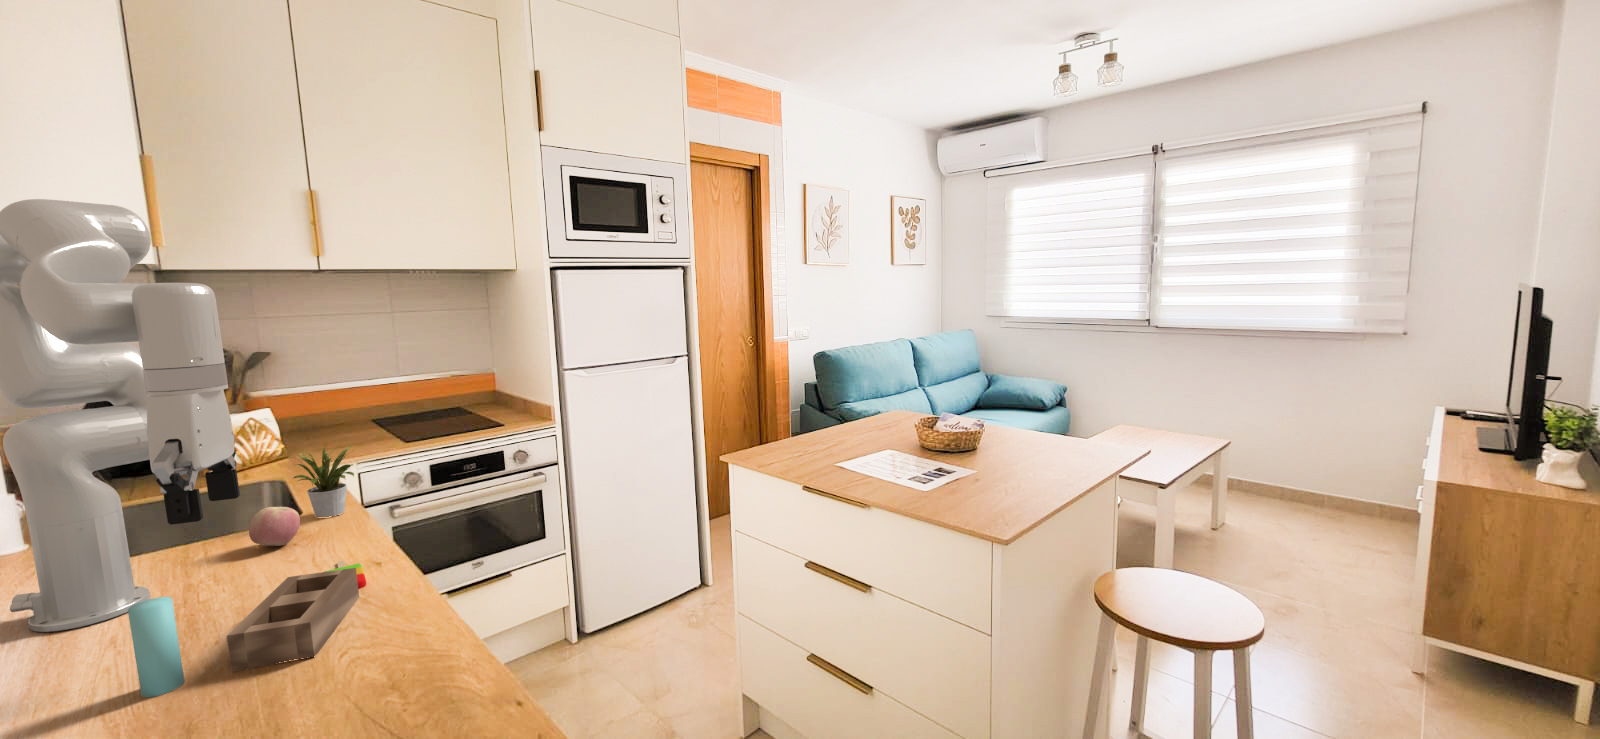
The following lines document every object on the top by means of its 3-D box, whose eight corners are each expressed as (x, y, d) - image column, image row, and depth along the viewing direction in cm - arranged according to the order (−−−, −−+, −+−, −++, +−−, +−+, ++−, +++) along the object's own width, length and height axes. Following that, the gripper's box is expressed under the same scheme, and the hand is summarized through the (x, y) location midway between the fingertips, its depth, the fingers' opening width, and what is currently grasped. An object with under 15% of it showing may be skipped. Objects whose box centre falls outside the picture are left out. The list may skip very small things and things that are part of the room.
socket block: (231, 671, 81) (226, 635, 81) (292, 607, 98) (288, 577, 98) (314, 657, 84) (310, 622, 84) (359, 597, 101) (355, 567, 101)
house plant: (279, 533, 130) (269, 456, 128) (284, 515, 141) (275, 444, 139) (363, 517, 138) (355, 445, 136) (361, 501, 149) (354, 434, 148)
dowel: (133, 700, 76) (119, 614, 75) (153, 682, 80) (140, 599, 78) (173, 693, 77) (160, 608, 76) (191, 675, 81) (179, 594, 79)
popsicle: (326, 601, 102) (325, 589, 101) (322, 570, 113) (320, 560, 113) (367, 590, 105) (366, 579, 105) (359, 562, 117) (358, 552, 116)
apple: (293, 551, 121) (288, 511, 120) (243, 557, 118) (238, 516, 117) (309, 536, 128) (304, 498, 127) (263, 542, 126) (258, 503, 125)
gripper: (186, 375, 87) (204, 495, 89) (102, 391, 71) (126, 538, 73) (254, 371, 89) (269, 488, 91) (187, 386, 73) (208, 527, 75)
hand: (206, 510), depth 82 cm, fingers open, 9 cm apart
